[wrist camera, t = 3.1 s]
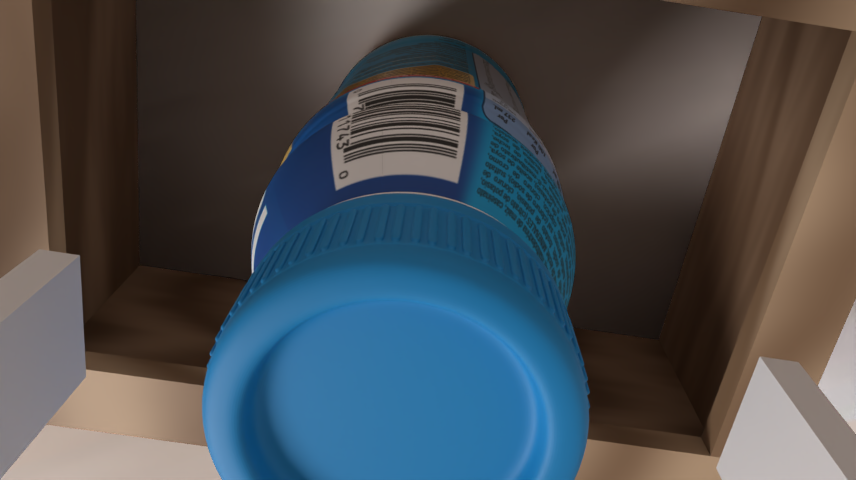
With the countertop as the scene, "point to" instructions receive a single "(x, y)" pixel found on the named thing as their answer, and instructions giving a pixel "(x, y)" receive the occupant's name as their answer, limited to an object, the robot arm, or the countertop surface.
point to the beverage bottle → (406, 290)
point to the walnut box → (602, 352)
